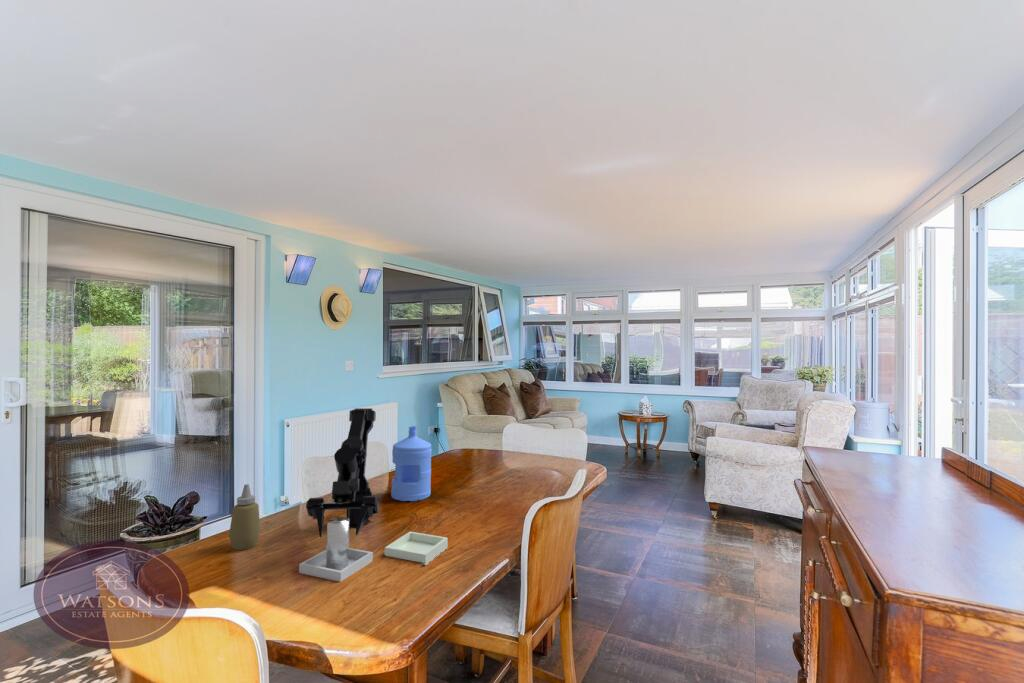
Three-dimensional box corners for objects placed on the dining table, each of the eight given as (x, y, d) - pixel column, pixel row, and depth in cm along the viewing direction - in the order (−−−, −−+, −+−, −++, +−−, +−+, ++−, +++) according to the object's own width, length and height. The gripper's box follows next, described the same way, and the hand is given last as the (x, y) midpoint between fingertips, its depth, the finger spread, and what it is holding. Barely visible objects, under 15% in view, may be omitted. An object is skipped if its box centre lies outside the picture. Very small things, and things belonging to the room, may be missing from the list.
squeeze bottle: (266, 543, 140) (268, 482, 141) (242, 554, 133) (245, 489, 133) (245, 539, 143) (247, 480, 144) (221, 549, 135) (224, 486, 136)
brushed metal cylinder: (321, 569, 123) (322, 521, 123) (335, 560, 128) (337, 515, 128) (338, 572, 121) (340, 524, 121) (352, 563, 126) (354, 517, 126)
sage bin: (384, 558, 132) (384, 547, 132) (409, 541, 144) (409, 531, 144) (425, 565, 127) (425, 554, 127) (447, 547, 140) (447, 537, 140)
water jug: (412, 488, 201) (413, 423, 202) (438, 495, 192) (440, 426, 193) (382, 497, 189) (384, 427, 190) (409, 504, 179) (411, 431, 180)
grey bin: (298, 575, 120) (299, 563, 121) (334, 555, 133) (334, 545, 133) (340, 584, 116) (340, 572, 116) (372, 563, 128) (373, 552, 128)
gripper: (308, 468, 130) (296, 522, 118) (378, 467, 133) (372, 519, 122) (314, 489, 137) (303, 542, 126) (380, 487, 140) (375, 539, 129)
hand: (338, 535), depth 125 cm, fingers open, 9 cm apart
